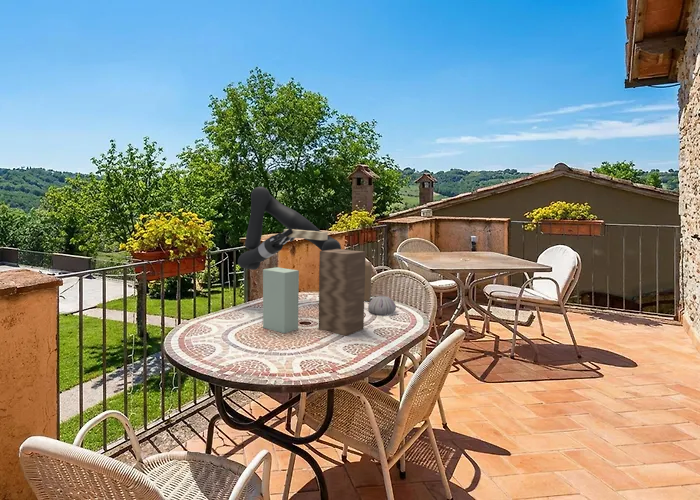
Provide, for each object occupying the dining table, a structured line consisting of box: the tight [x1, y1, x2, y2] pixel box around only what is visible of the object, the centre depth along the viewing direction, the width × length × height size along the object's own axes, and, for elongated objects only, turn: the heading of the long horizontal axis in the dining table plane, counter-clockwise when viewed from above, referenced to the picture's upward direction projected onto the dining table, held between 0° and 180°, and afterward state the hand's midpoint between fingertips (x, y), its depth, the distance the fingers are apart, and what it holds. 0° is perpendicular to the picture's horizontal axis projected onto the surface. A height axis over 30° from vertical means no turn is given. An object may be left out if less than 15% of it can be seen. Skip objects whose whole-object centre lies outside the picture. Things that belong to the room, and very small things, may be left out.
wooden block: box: [364, 261, 373, 302], centre depth 235 cm, size 10×10×20 cm
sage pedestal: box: [262, 266, 300, 334], centre depth 179 cm, size 12×8×24 cm, turn 54°
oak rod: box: [283, 228, 329, 240], centre depth 188 cm, size 22×3×3 cm, turn 54°
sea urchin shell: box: [367, 295, 397, 316], centre depth 209 cm, size 13×14×8 cm
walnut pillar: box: [317, 248, 367, 337], centre depth 179 cm, size 14×12×32 cm
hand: (294, 230), depth 192 cm, fingers closed on oak rod, 3 cm apart
